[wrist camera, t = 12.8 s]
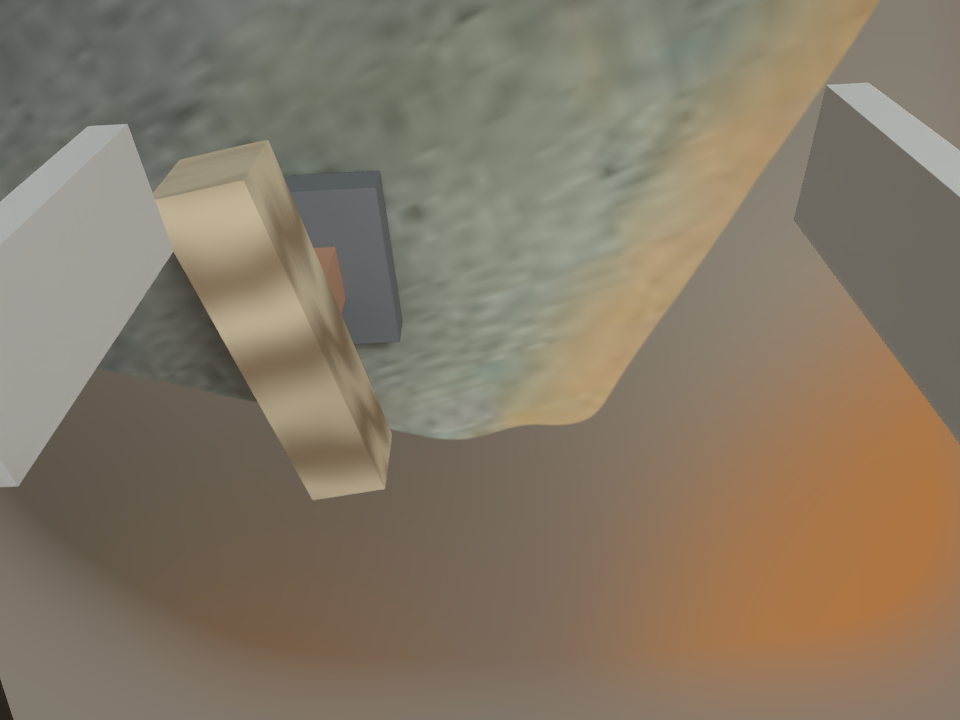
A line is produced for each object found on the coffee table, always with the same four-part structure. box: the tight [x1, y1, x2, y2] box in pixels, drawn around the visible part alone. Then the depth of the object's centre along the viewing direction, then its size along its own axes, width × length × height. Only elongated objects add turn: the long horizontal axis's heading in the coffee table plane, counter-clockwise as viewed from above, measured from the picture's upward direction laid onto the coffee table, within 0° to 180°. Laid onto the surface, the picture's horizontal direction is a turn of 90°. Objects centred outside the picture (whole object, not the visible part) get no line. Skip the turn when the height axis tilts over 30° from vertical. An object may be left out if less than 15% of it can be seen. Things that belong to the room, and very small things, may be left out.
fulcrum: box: [283, 171, 402, 344], centre depth 47 cm, size 12×10×8 cm
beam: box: [153, 140, 392, 500], centre depth 42 cm, size 22×5×5 cm, turn 13°
